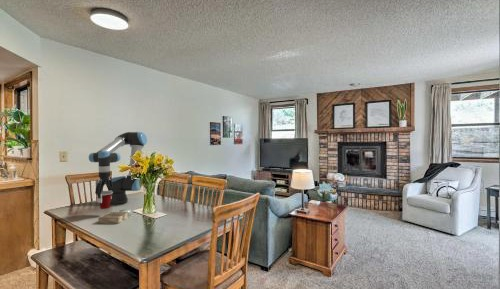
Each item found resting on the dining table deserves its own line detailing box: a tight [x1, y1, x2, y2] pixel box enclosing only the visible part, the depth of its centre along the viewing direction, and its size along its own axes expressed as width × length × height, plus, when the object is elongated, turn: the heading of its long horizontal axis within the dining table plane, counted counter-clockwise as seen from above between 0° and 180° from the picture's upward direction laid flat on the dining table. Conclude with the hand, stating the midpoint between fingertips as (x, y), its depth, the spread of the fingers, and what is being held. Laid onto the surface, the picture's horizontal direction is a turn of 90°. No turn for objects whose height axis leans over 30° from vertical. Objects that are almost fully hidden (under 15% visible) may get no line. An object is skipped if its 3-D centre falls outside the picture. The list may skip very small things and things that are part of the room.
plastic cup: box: [98, 190, 113, 210], centre depth 188 cm, size 11×11×12 cm
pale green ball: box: [118, 208, 132, 217], centre depth 189 cm, size 8×8×4 cm
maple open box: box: [97, 211, 130, 225], centre depth 177 cm, size 14×14×4 cm
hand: (104, 200), depth 188 cm, fingers closed on plastic cup, 11 cm apart
